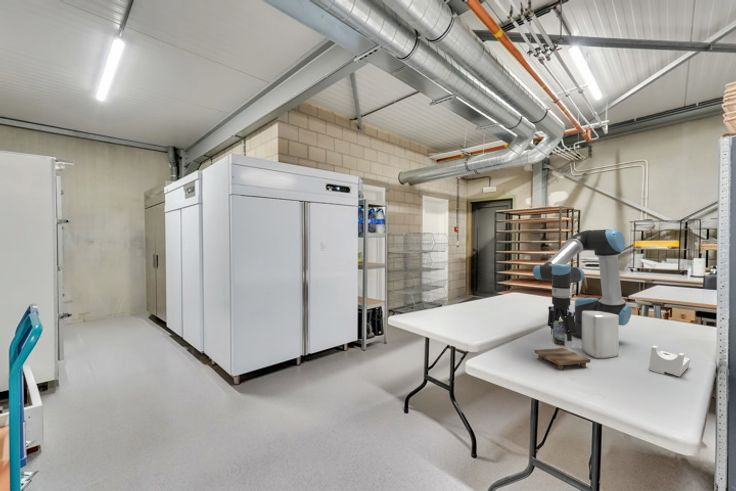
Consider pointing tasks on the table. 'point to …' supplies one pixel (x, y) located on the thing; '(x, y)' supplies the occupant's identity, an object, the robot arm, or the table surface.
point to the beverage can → (559, 333)
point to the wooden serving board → (562, 357)
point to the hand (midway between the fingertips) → (561, 344)
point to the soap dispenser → (600, 334)
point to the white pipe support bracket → (668, 362)
